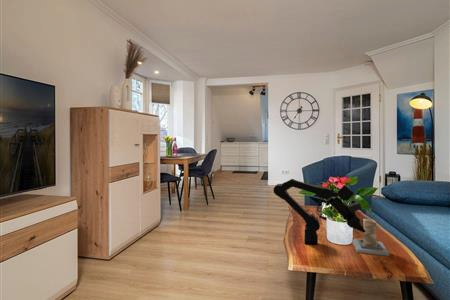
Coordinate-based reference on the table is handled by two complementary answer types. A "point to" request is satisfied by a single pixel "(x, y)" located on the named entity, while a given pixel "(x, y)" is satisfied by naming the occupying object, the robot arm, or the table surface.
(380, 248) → the baseplate
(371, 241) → the birch block
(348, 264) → the table surface
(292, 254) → the table surface
